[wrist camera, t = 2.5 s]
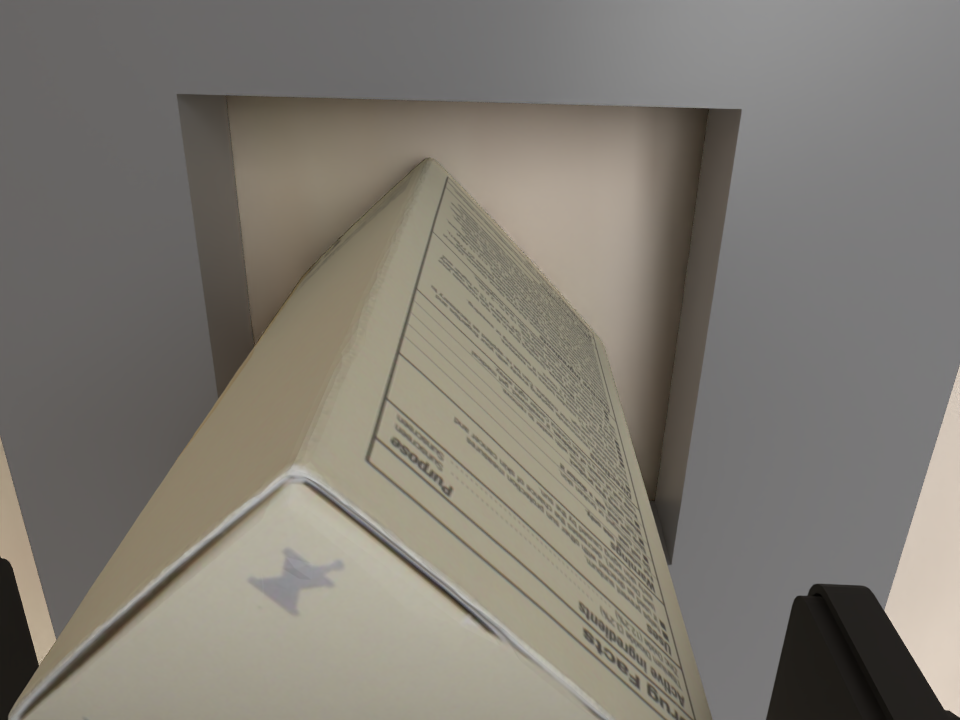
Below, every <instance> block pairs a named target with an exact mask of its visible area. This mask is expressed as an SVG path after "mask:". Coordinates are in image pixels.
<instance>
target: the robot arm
mask: <svg viewBox="0 0 960 720" xmlns="http://www.w3.org/2000/svg"><path fill="white" fill-rule="evenodd" d="M38 667H39V664H38V661H37V657H36V653H35V650H34V646H33V642H32V639H31V635H30V631H29V628H28V624H27V620H26V616H25V613H24V609H23V605H22V602H21V598H20V594H19V591H18V587H17V583H16V579H15V576H14V572H13V568H12V566H11V564H10V562H8V561H7V560H6V559H2V558H1V557H0V720H8V715H9V713H10V711H11V709H12V707H13V706H14V704H15V702H16V701H17V699H18V698H19V696H20V695H21V693H22V692H23V690H24V689H25V687H26V686H27V684H28V682H29V681H30V679H31V678H32V676H33V675H34V673H35V672H36V670H37V669H38ZM766 720H960V718H959V717H958V716H956V715H955V714H953V713H952V712H950V711H947V710H944V709H943V707H942V705H941V704H940V702H939V700H938V699H937V697H936V695H935V694H934V692H933V690H932V689H931V687H930V685H929V684H928V682H927V681H926V679H925V677H924V676H923V674H922V672H921V671H920V669H919V667H918V666H917V664H916V662H915V661H914V659H913V657H912V656H911V654H910V653H909V651H908V649H907V648H906V646H905V644H904V643H903V641H902V639H901V638H900V636H899V634H898V633H897V631H896V630H895V628H894V626H893V625H892V623H891V621H890V620H889V618H888V616H887V615H886V613H885V611H884V610H883V608H882V606H881V605H880V603H879V602H878V600H877V598H876V597H875V595H874V594H873V592H872V591H871V590H870V589H869V588H868V587H866V586H861V585H839V584H818V583H817V584H814V585H813V586H812V587H811V588H810V589H809V592H808V595H807V596H796V598H795V599H794V601H793V604H792V608H791V612H790V617H789V621H788V625H787V630H786V634H785V638H784V643H783V647H782V652H781V656H780V660H779V665H778V669H777V673H776V678H775V682H774V686H773V691H772V695H771V700H770V704H769V708H768V713H767V717H766Z"/></svg>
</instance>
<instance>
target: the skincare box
mask: <svg viewBox="0 0 960 720" xmlns="http://www.w3.org/2000/svg"><path fill="white" fill-rule="evenodd" d="M8 720H713V719H712V716H711V712H710V709H709V706H708V702H707V699H706V695H705V692H704V689H703V685H702V682H701V678H700V675H699V672H698V668H697V665H696V661H695V658H694V655H693V651H692V648H691V645H690V641H689V638H688V634H687V631H686V628H685V624H684V621H683V618H682V614H681V611H680V607H679V604H678V600H677V597H676V593H675V590H674V586H673V583H672V579H671V576H670V572H669V569H668V565H667V562H666V558H665V555H664V551H663V548H662V544H661V541H660V537H659V534H658V531H657V527H656V524H655V520H654V517H653V513H652V510H651V506H650V503H649V499H648V496H647V492H646V489H645V485H644V482H643V479H642V475H641V472H640V468H639V465H638V461H637V458H636V455H635V451H634V448H633V444H632V441H631V437H630V434H629V430H628V427H627V424H626V420H625V417H624V414H623V410H622V407H621V403H620V400H619V396H618V393H617V389H616V386H615V382H614V379H613V375H612V372H611V368H610V365H609V361H608V358H607V354H606V350H605V347H604V345H603V343H602V341H601V340H600V339H599V338H598V336H597V335H596V334H595V333H594V332H593V331H592V329H591V328H590V327H589V326H588V325H587V324H586V322H585V321H584V320H583V319H582V318H581V317H580V316H579V314H578V313H577V312H576V311H575V310H574V309H573V308H572V306H571V305H570V304H569V303H568V302H567V301H566V300H565V298H564V297H563V296H562V295H561V294H560V293H559V292H558V291H557V290H556V288H555V287H554V286H553V285H552V284H551V283H550V282H549V281H548V280H547V279H546V277H545V276H544V275H543V274H542V273H541V272H540V271H539V270H538V268H537V267H536V266H535V265H534V264H533V263H532V262H531V261H530V259H529V258H528V257H527V256H526V255H525V254H524V253H523V252H522V251H521V250H520V249H519V248H518V247H517V246H516V245H515V243H514V242H513V241H512V240H511V239H510V238H509V237H508V236H507V235H506V234H505V232H504V231H503V230H502V229H501V228H500V227H499V226H498V225H497V224H496V223H495V222H494V221H493V220H492V218H491V217H490V216H489V215H488V214H487V213H486V212H485V211H484V210H483V209H482V208H481V207H480V206H479V205H478V203H477V202H476V201H475V200H474V199H473V198H472V197H471V196H470V195H469V194H468V193H467V192H466V191H465V190H464V189H463V188H462V187H461V186H460V185H459V184H458V183H457V182H456V181H455V180H454V179H453V178H452V177H451V176H450V175H449V174H448V172H447V171H446V170H445V169H444V168H443V167H442V166H441V165H440V164H439V163H438V162H437V161H435V160H434V159H432V158H427V159H425V160H424V161H422V162H421V163H420V164H419V165H418V166H417V167H416V168H415V169H414V170H412V171H411V172H410V173H409V174H408V175H407V176H406V177H405V178H404V179H403V180H401V181H400V182H399V183H398V184H397V185H396V186H395V187H394V188H393V189H391V190H390V191H389V192H388V193H387V194H386V195H385V196H384V197H383V198H382V199H381V200H380V201H378V202H377V203H376V204H375V205H374V206H373V207H372V208H371V209H370V210H369V211H368V212H367V213H366V214H365V215H364V216H363V217H362V218H361V219H360V220H359V221H357V222H356V223H355V224H354V225H353V226H352V227H351V228H350V229H349V230H348V231H347V232H346V233H345V234H344V235H343V236H342V237H341V238H340V239H339V240H338V241H337V242H336V243H335V244H334V245H333V246H332V247H331V248H330V249H329V250H328V251H327V252H326V253H325V254H324V255H323V256H322V257H321V258H320V259H319V260H318V261H317V262H316V263H315V264H314V265H313V266H312V267H311V268H310V269H309V270H308V271H307V272H306V273H305V274H304V275H303V277H302V278H301V279H300V281H299V282H298V284H297V285H296V287H295V288H294V290H293V291H292V293H291V294H290V296H289V297H288V299H287V300H286V301H285V303H284V304H283V306H282V307H281V309H280V310H279V311H278V313H277V314H276V316H275V317H274V319H273V320H272V321H271V323H270V324H269V326H268V327H267V329H266V330H265V332H264V333H263V335H262V336H261V338H260V339H259V341H258V342H257V344H256V345H255V346H254V348H253V349H252V351H251V352H250V353H249V355H248V356H247V358H246V360H245V361H244V362H243V364H242V365H241V366H240V367H239V369H238V370H237V372H236V373H235V375H234V376H233V378H232V379H231V381H230V382H229V384H228V385H227V387H226V388H225V390H224V391H223V393H222V394H221V396H220V397H219V398H218V400H217V401H216V403H215V405H214V406H213V408H212V409H211V411H210V412H209V413H208V415H207V416H206V418H205V419H204V421H203V422H202V424H201V425H200V426H199V428H198V429H197V431H196V432H195V434H194V435H193V437H192V438H191V440H190V441H189V443H188V444H187V446H186V447H185V448H184V450H183V451H182V453H181V454H180V455H179V457H178V458H177V460H176V461H175V463H174V465H173V466H172V468H171V469H170V471H169V472H168V474H167V475H166V477H165V478H164V480H163V481H162V483H161V484H160V485H159V487H158V488H157V490H156V491H155V493H154V494H153V496H152V497H151V499H150V500H149V502H148V503H147V505H146V506H145V507H144V509H143V510H142V512H141V513H140V515H139V516H138V518H137V519H136V521H135V522H134V524H133V525H132V527H131V528H130V530H129V531H128V533H127V534H126V536H125V537H124V539H123V540H122V542H121V544H120V545H119V546H118V548H117V549H116V551H115V552H114V554H113V555H112V557H111V558H110V560H109V561H108V563H107V564H106V566H105V567H104V569H103V570H102V572H101V573H100V575H99V576H98V577H97V579H96V581H95V582H94V584H93V585H92V587H91V588H90V590H89V591H88V593H87V594H86V596H85V597H84V599H83V601H82V602H81V604H80V605H79V607H78V608H77V610H76V611H75V613H74V614H73V616H72V617H71V619H70V620H69V622H68V623H67V625H66V626H65V628H64V629H63V631H62V632H61V634H60V635H59V637H58V639H57V640H56V642H55V643H54V645H53V646H52V648H51V649H50V651H49V652H48V654H47V655H46V657H45V658H44V660H43V661H42V663H41V664H40V666H39V667H38V669H37V670H36V672H35V673H34V675H33V676H32V678H31V679H30V681H29V682H28V684H27V686H26V687H25V689H24V690H23V692H22V693H21V695H20V696H19V698H18V699H17V701H16V702H15V704H14V706H13V707H12V709H11V711H10V713H9V715H8Z"/></svg>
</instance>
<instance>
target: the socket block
mask: <svg viewBox="0 0 960 720" xmlns="http://www.w3.org/2000/svg"><path fill="white" fill-rule="evenodd" d="M226 95H236V96H273V97H310V98H347V99H384V100H421V101H458V102H495V103H532V104H569V105H606V106H642V107H679V108H709V111H708V118H707V126H706V133H705V140H704V148H703V155H702V162H701V169H700V177H699V184H698V191H697V199H696V206H695V213H694V220H693V228H692V235H691V242H690V250H689V257H688V264H687V271H686V279H685V286H684V293H683V300H682V308H681V315H680V322H679V330H678V337H677V344H676V351H675V359H674V366H673V373H672V381H671V388H670V395H669V402H668V410H667V417H666V424H665V431H664V439H663V446H662V453H661V461H660V468H659V475H658V482H657V490H656V497H655V501H649V503H650V506H651V510H652V513H653V517H654V520H655V524H656V527H657V531H658V534H659V537H660V541H661V544H662V548H663V551H664V555H665V558H666V562H667V565H668V569H669V572H670V576H671V579H672V583H673V586H674V590H675V593H676V597H677V600H678V604H679V607H680V611H681V614H682V618H683V621H684V624H685V628H686V631H687V634H688V638H689V641H690V645H691V648H692V651H693V655H694V658H695V661H696V665H697V668H698V672H699V675H700V678H701V682H702V685H703V689H704V692H705V695H706V699H707V702H708V706H709V709H710V712H711V716H712V719H713V720H766V717H767V713H768V708H769V704H770V700H771V695H772V691H773V686H774V682H775V678H776V673H777V669H778V665H779V660H780V656H781V652H782V647H783V643H784V638H785V634H786V630H787V625H788V621H789V617H790V612H791V608H792V604H793V601H794V599H795V598H796V596H807V595H808V592H809V589H810V588H811V587H812V586H813V585H814V584H817V583H818V584H839V585H861V586H866V587H868V588H869V589H870V590H871V591H872V592H873V594H874V595H875V597H876V598H877V600H878V602H879V603H880V605H881V606H882V608H883V610H884V609H885V606H886V603H887V599H888V596H889V593H890V590H891V586H892V583H893V580H894V577H895V573H896V570H897V567H898V564H899V560H900V557H901V554H902V551H903V547H904V544H905V541H906V538H907V534H908V531H909V528H910V525H911V521H912V518H913V515H914V512H915V508H916V505H917V502H918V499H919V495H920V492H921V489H922V486H923V482H924V479H925V476H926V473H927V469H928V466H929V463H930V460H931V456H932V453H933V450H934V447H935V443H936V440H937V437H938V434H939V430H940V427H941V424H942V421H943V417H944V414H945V411H946V408H947V404H948V401H949V398H950V395H951V391H952V388H953V385H954V382H955V378H956V375H957V372H958V369H959V365H960V0H0V437H1V440H2V444H3V447H4V451H5V455H6V458H7V462H8V466H9V469H10V473H11V476H12V480H13V484H14V487H15V491H16V495H17V498H18V502H19V506H20V509H21V513H22V516H23V520H24V524H25V527H26V531H27V535H28V538H29V542H30V545H31V549H32V553H33V556H34V560H35V564H36V567H37V571H38V575H39V578H40V582H41V585H42V589H43V593H44V596H45V600H46V604H47V607H48V611H49V614H50V618H51V622H52V625H53V629H54V633H55V636H56V640H57V639H58V637H59V635H60V634H61V632H62V631H63V629H64V628H65V626H66V625H67V623H68V622H69V620H70V619H71V617H72V616H73V614H74V613H75V611H76V610H77V608H78V607H79V605H80V604H81V602H82V601H83V599H84V597H85V596H86V594H87V593H88V591H89V590H90V588H91V587H92V585H93V584H94V582H95V581H96V579H97V577H98V576H99V575H100V573H101V572H102V570H103V569H104V567H105V566H106V564H107V563H108V561H109V560H110V558H111V557H112V555H113V554H114V552H115V551H116V549H117V548H118V546H119V545H120V544H121V542H122V540H123V539H124V537H125V536H126V534H127V533H128V531H129V530H130V528H131V527H132V525H133V524H134V522H135V521H136V519H137V518H138V516H139V515H140V513H141V512H142V510H143V509H144V507H145V506H146V505H147V503H148V502H149V500H150V499H151V497H152V496H153V494H154V493H155V491H156V490H157V488H158V487H159V485H160V484H161V483H162V481H163V480H164V478H165V477H166V475H167V474H168V472H169V471H170V469H171V468H172V466H173V465H174V463H175V461H176V460H177V458H178V457H179V455H180V454H181V453H182V451H183V450H184V448H185V447H186V446H187V444H188V443H189V441H190V440H191V438H192V437H193V435H194V434H195V432H196V431H197V429H198V428H199V426H200V425H201V424H202V422H203V421H204V419H205V418H206V416H207V415H208V413H209V412H210V411H211V409H212V408H213V406H214V405H215V403H216V401H217V400H218V398H219V397H220V396H221V394H222V393H223V391H224V390H225V388H226V387H227V385H228V384H229V382H230V381H231V379H232V378H233V376H234V375H235V373H236V372H237V370H238V369H239V367H240V366H241V365H242V364H243V362H244V361H245V360H246V358H247V356H248V355H249V353H250V352H251V351H252V349H253V348H254V343H253V334H252V325H251V316H250V307H249V298H248V289H247V280H246V271H245V262H244V253H243V244H242V235H241V226H240V217H239V208H238V199H237V190H236V181H235V172H234V163H233V155H232V146H231V137H230V128H229V119H228V110H227V101H226Z"/></svg>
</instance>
